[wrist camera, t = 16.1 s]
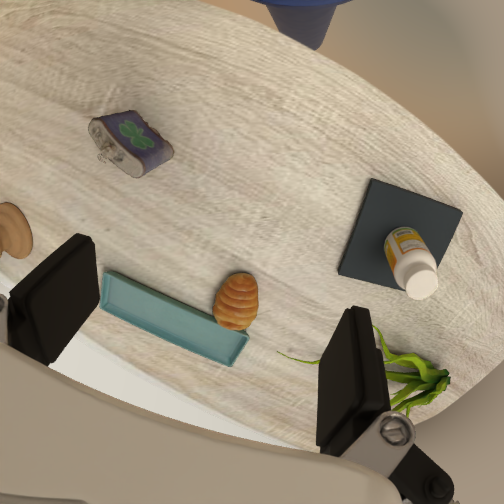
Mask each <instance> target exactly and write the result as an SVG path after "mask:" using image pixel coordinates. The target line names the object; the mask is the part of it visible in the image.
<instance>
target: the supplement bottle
mask: <svg viewBox="0 0 504 504" xmlns="http://www.w3.org/2000/svg"><path fill="white" fill-rule="evenodd" d="M384 251H385V254H386V257H387V259H388V262H389V264H390V267H391V270H392V272H393V275H394V278H395V280H396V282H397V284H398V285H399V286H400V287H401V288H403V289H405V290H406V293H407V294H408V296H409V297H411V298H412V299H415V300H422V299H425V298H427V297H429V296H431V295H432V294H433V293H434V292H435V290H436V288H437V286H438V277H437V275H436V270H437V266H436V262H435V259H434V257H433V256H432V254H431V253H430V251H429V249H428V248H427V246H426V245H425V243H424V241H423V240H422V238H421V237H420V235H419V234H418V233H417V232H416V231H415V230H414V229H412V228H410V227H400V228H397V229H395V230H393V231H392V232H391V233H390V234H389V235H388V236H387V238H386V240H385V244H384Z"/></svg>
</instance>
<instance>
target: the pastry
mask: <svg viewBox="0 0 504 504" xmlns="http://www.w3.org/2000/svg"><path fill="white" fill-rule="evenodd" d="M257 310H258V287H257V283H256V281H255V278H254V277H253V276H252V275H249V274H246V273H236V274H234V275H231V276H229V278H228V279H227V281H226V282H225V283H224V284H223V285H222V286H221V289H220V290H219V291H218V292H217V293H216V300H215V304H214V306H213V311H212V312H213V315H214V317H215V319H216V320H217V323H218V324H219V325H220V326H221V327H223V328H226V329H229V330H243V329H246V328H247V327H249V326H250V324H251V322H252V321H253V320H254V319H255V318H256V316H257Z"/></svg>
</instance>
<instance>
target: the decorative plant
mask: <svg viewBox="0 0 504 504" xmlns="http://www.w3.org/2000/svg"><path fill="white" fill-rule="evenodd" d="M372 326H373V325H372ZM373 327H374V328H375V329H376V330H377V331H378V333H379V335H380V339H381V343H382V347H383V350H384V353H385V356H386V358H387V359H389V361H384V364H390V363H393V362H394V363H396V364H398V365H400V366H404V367H409V368H414V369H419V372H406V373H403V372H394V371H387V370H385V373H386V379H388V380H392V381H396V382H400V383H407V385H406V386H405V387H404V388H403V389H402V390H400V391H398V392H397V393H394V394H390V395H395V394H397V395H396V396H395V397H394V398H393V399H392V400H390V405H391V406H392V405H395V404H397V403H399V402H401V403H400V404H399V405H397V406H396V407H395V408H394V409H392V410H391V411H397V412H401V411H402V410H404V409H405V408H407V410H406V416H407V417H409V412H410V408H411V407H413V406H416V405H427V404H430V403H431V402H432V401H433V399H434V398H436V397H437V395H438V394H440V393H442V391H445V390H446V387H447V385H448V384H450V378H451V377H447V376H448V375H449V374H450V373H449V372H448V371H447V369H443V370H437V369H435V368H434V367H433V365H432V364H431V362H430V361H426V360H423V359H421V358H420V357H419V356H417V355H416V354H415V353H410V354H403V355H400V356H397V355H394V354H391V353H390V352H389V350H388V348H387V346H386V344H385V342H384V339H383V336H382V334H381V332H380V331H379V329H378V328H376V327H375V326H373ZM277 352H278V351H277ZM278 353H280V352H278ZM280 354H282V353H280ZM282 355H284V354H282ZM284 356H285V355H284ZM286 357H287V356H286ZM288 358H290V357H288ZM290 359H293V360H297V361H300V362H303V363H308V364H319V363H320V360H317V361H314V362H308V361H302V360H298V359H294V358H290ZM417 390H425V391H423V392H421V393H420V394H418V395H416V396H414V397H412V398H409V399H406V400H404V399H405V398H406V397H408V396H409V395H410V394H411V393H412V392H415V391H417ZM403 400H404V401H403ZM428 401H429V402H428ZM426 402H427V403H426ZM424 403H426V404H424ZM418 408H419V407H418Z"/></svg>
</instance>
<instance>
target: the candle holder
mask: <svg viewBox="0 0 504 504" xmlns="http://www.w3.org/2000/svg"><path fill="white" fill-rule="evenodd" d="M32 244H33V241H32V234H31V230H30V227H29V225H28V222H27V220H26V219H25V217H24V215H23V214H22V213H21V211H20V210H19V209H18V208H17V207H16V206H14V205H13V204H10V203H2V204H0V258H1V255H2V252H3V251H6V252H7V253H8V254H9V255H11V256H12V257H14V258H17V259H23V258H26V257H27V256H28V255H29V254H30V252H31V250H32Z"/></svg>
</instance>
